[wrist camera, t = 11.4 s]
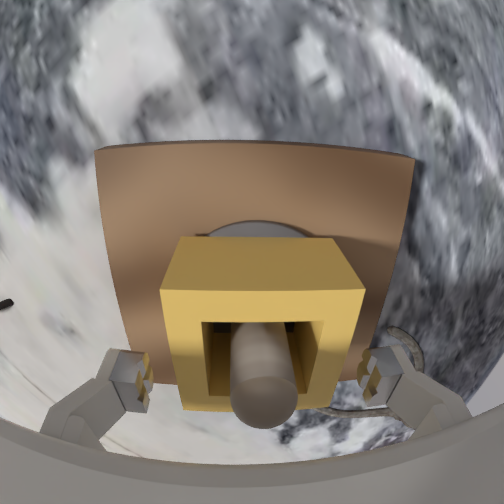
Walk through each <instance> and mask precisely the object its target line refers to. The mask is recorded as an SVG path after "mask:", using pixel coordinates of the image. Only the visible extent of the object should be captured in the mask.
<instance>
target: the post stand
mask: <svg viewBox="0 0 504 504" xmlns="http://www.w3.org/2000/svg"><path fill="white" fill-rule="evenodd" d="M94 154H95V167H96V177H97V187H98V196H99V204H100V211H101V218H102V225H103V231H104V237H105V243H106V248H107V254H108V259H109V264H110V269H111V274H112V278H113V283H114V287H115V292H116V296H117V300H118V304H119V308H120V312H121V316H122V320H123V323H124V327H125V331H126V334H127V338H128V341H129V345H130V348H131V351H138V352H146V353H148V356H149V359H150V360H149V363H148V365H149V366H151V367H152V370H153V377H154V379H153V383H161V384H174V385H177V380H176V376H175V371H174V367H173V362H172V357H171V352H170V347H169V342H168V337H167V331H166V326H165V320H164V314H163V308H162V302H161V296H160V287H161V284H162V282H163V279H164V277H165V274H166V272H167V269H168V267H169V264H170V262H171V259H172V257H173V254H174V252H175V249H176V247H177V245H178V242H179V240H180V237H181V236H186V237H293V238H333V240H334V241H335V243H336V244H337V246H338V247H339V249H340V250H341V252H342V253H343V255H344V256H345V258H346V259H347V261H348V262H349V264H350V265H351V267H352V268H353V270H354V271H355V273H356V275H357V276H358V278H359V279H360V281H361V282H362V284H363V286H364V287H365V289H366V290H365V294H364V298H363V301H362V305H361V309H360V313H359V316H358V320H357V323H356V327H355V330H354V333H353V337H352V340H351V343H350V346H349V350H348V353H347V356H346V359H345V362H344V365H343V368H342V371H341V374H340V377H339V380H338V381H347V380H355V379H357V368H358V365H359V363H360V362H361V361H363V358H362V354H363V351H364V350H365V349H367V348H369V346H370V344H371V341H372V338H373V335H374V332H375V329H376V326H377V323H378V320H379V317H380V314H381V311H382V308H383V304H384V301H385V298H386V294H387V291H388V287H389V284H390V280H391V277H392V273H393V269H394V265H395V261H396V257H397V253H398V249H399V245H400V241H401V236H402V232H403V227H404V222H405V217H406V212H407V207H408V202H409V196H410V190H411V184H412V178H413V171H414V164H415V159H413V158H410V157H408V156H405V155H402V154H398V153H392V152H385V151H378V150H371V149H363V148H355V147H346V146H337V145H326V144H314V143H301V142H284V141H261V140H188V141H165V142H148V143H135V144H124V145H113V146H107V147H104V148H101V149H98V150H95V151H94ZM294 324H295V322H213V328H214V333H231V356H230V402H231V406H232V409H233V411H234V413H235V414H236V416H237V417H238V418H239V419H240V420H241V421H242V422H244V423H245V424H247V425H249V426H251V427H254V428H259V429H269V428H273V427H276V426H279V425H281V424H282V423H284V422H285V421H287V420H288V419H289V418H290V416H291V415H292V414H293V412H294V410H295V408H296V405H297V401H298V393H297V387H296V381H295V376H294V371H293V366H292V361H291V356H290V350H289V345H288V340H287V335H286V333H287V332H293V331H294Z"/></svg>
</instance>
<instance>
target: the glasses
mask: <svg viewBox="0 0 504 504" xmlns="http://www.w3.org/2000/svg"><path fill="white" fill-rule="evenodd" d="M11 305H13V301H12V300H11V299H6V300H4V301H1V302H0V310H1V309H4V308H6V307H9V306H11Z"/></svg>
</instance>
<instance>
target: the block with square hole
mask: <svg viewBox="0 0 504 504" xmlns="http://www.w3.org/2000/svg"><path fill="white" fill-rule="evenodd" d="M365 290H366V289H365V287H364V286H363V284H362V282H361V281H360V279H359V278H358V276H357V275H356V273H355V271H354V270H353V268H352V267H351V265H350V264H349V262H348V261H347V259H346V258H345V256H344V255H343V253H342V252H341V250H340V249H339V247H338V246H337V244H336V243H335V241H334V240H333V238H293V237H186V236H181V237H180V240H179V242H178V245H177V247H176V249H175V252H174V254H173V257H172V259H171V262H170V264H169V267H168V269H167V272H166V274H165V277H164V279H163V282H162V284H161V287H160V296H161V302H162V308H163V314H164V320H165V326H166V331H167V337H168V342H169V347H170V352H171V357H172V362H173V367H174V371H175V376H176V380H177V385H178V389H179V393H180V398H181V402H182V406H183V410H190V411H213V412H234V411H233V409H232V406H231V402H230V356H231V333H214V328H213V322H295V324H294V331H293V332H287V333H286V335H287V340H288V345H289V350H290V356H291V361H292V366H293V371H294V376H295V381H296V387H297V393H298V401H297V405H296V408H295V410H300V409H312V408H322V407H329V404H330V402H331V399H332V396H333V394H334V391H335V388H336V385H337V382H338V380H339V377H340V374H341V371H342V368H343V365H344V362H345V359H346V356H347V353H348V350H349V346H350V343H351V340H352V337H353V333H354V330H355V327H356V323H357V320H358V316H359V313H360V309H361V305H362V301H363V298H364V294H365Z"/></svg>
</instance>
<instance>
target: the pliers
mask: <svg viewBox="0 0 504 504" xmlns="http://www.w3.org/2000/svg"><path fill="white" fill-rule="evenodd" d="M387 332H388V333H389V334H390V335H392V336H394V337H396V338H398V339H399V340H401V341H402V342H403V343H405V344H406V345H407V346H408V348H409V349H410V350H411V352H412V354H413V358H414V369H415V370H416V372H417V371H420V372H421V373H423V368H424V359H423V355H422V351H421V350H420V348H419V346H418V344H417V343H416V342H415V341H414V339H413V338H412V337H411V336H410V335H408V334H407V333H406V332H404V331H403V330H401V329H399V328H397V327H394V326H390V327H388V328H387ZM312 409H313V410H315V411H318V412H321V413H323V414H326V415H330V416H334V417H341V418H360V417H377V416H391V417H394V418H395V419H396V420H399V421H402V422H403V423H404V424H405V425H406V426H407V427H408V428H411V427H410V426H409V425H408V424H407V423H406V422H405V421H403V420H402V419H401V418H400V417H399V416H398V415H397V414H395V413H394V412H393V411H392V410H391V409H390V408H389V407H387V408H377V409H367V410H336V409H332V408H328V407H322V408H312Z"/></svg>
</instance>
